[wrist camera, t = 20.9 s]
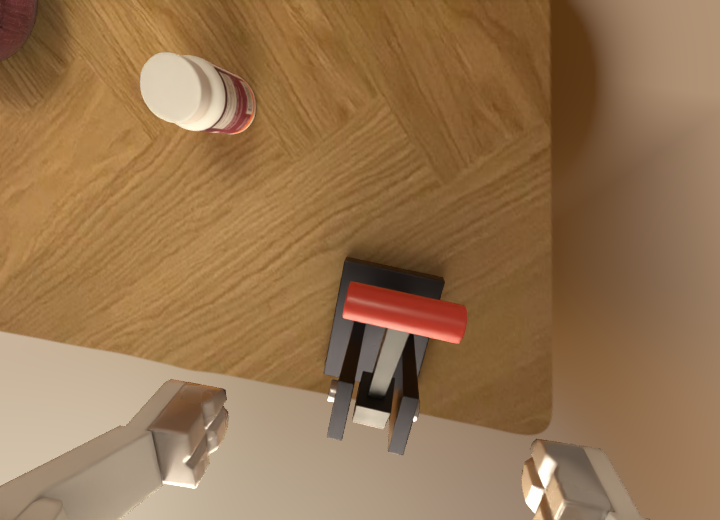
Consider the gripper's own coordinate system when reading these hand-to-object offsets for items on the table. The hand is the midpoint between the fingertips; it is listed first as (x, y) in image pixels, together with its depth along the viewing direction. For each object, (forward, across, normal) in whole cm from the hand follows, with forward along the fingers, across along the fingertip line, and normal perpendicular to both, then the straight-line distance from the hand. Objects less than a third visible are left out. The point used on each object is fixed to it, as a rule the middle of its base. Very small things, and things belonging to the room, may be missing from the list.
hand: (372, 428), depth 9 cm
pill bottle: (+24, +15, -7) cm, 29 cm away
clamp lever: (+11, 0, +5) cm, 12 cm away
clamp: (+22, 0, +12) cm, 25 cm away
